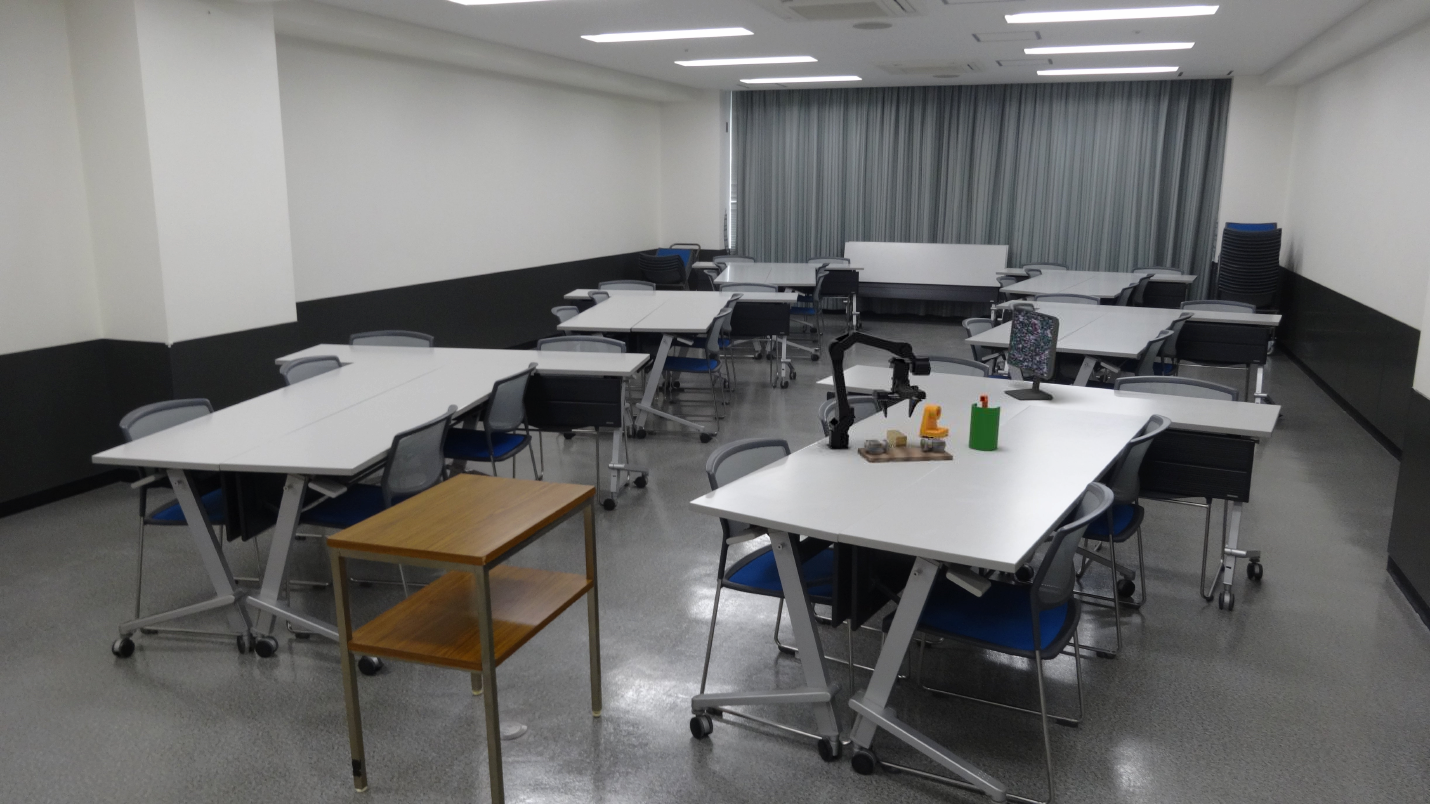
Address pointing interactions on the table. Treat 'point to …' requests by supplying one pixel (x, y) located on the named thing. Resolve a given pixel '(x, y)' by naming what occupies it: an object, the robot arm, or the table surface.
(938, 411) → the bracket
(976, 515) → the table surface
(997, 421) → the green tall cylinder
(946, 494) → the table surface
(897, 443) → the block
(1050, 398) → the computer monitor
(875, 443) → the shaft mount
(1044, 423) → the table surface
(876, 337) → the robot arm
